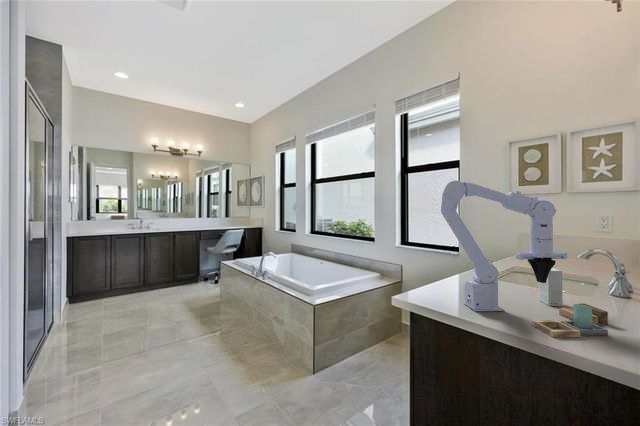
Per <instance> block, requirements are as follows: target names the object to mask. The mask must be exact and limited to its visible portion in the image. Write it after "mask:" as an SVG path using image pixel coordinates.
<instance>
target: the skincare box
mask: <svg viewBox="0 0 640 426" xmlns="http://www.w3.org/2000/svg"><path fill="white" fill-rule="evenodd" d="M563 299H564V298H563V270H560V269H557V268H554V267H552V269H551V270H550V272H549V275H548V278H547V281H546V283H540V282H538V301H539V302H542V303H543V304H545V305H547V306H548V307H563V304H564V303H563V302H564V301H563Z"/></svg>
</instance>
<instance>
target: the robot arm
mask: <svg viewBox="0 0 640 426" xmlns="http://www.w3.org/2000/svg"><path fill="white" fill-rule="evenodd" d="M474 196H476V197H478V198H483V199H486V200H489V201H493V202H497V203H500V204H501V206H502V207H503V208H504V209H505V210H510V211H513V212H516V213H519V214H521V215H525V216H526V215H527V216H529V251H524V252H515V260H520V261H523V260H527V262H528V264H529V265H530V266H531V268H532V270H533V273H534V276H535V279H536V282H538V283H539V282H540V283H546V281H547V278H548V275H549V272H550V270H551V269H552V268H554V266H555V265H556V260H559V259H560V260H561V259H562V260H568V252H563V251H554V224H553V217H554V216H555V215H556V214H557V208H556V207H555V205H554V204H553V203H552V202H551V201H550V200H540V199H539V197H538V196H533V197H531V196H529V195H525V194H522V192H521V191H519V190H515V191H509V192H507V193H504V192H500V191H497V190H495V189H490V188H488V187H486V186H482V185H480V184H476V183H471V182H466V181H460V180H452V181H449V182H448V183H447V184H446V186H445V187H444V190H443V192H442V195H441V203H440V204H441V206H440V207H441V208H440V213H441V215H442V216H443V218H444V219H445V221H446V223H447V225H448V226H449V228H450V229H451V231H452V233H453V234H454V236H455V237H456V239H457V241H458V242H459V244H460V245H461V248H462V249H463V251H464V252H465V254H466V255H467V257H468V259H469V260H470V262H471V263H472V267H473V268H472V269H473V272H474V273H475V275H474V276H473V277H472V280H468V281H466V282H465V283H464V301H463V304H464V305H466V306H467V307H469V308H470V309H472V311H474V312H505V308H503V307H501V306H499V281H498V277H499V270H498V268H497V267H496V266H495V265H494V263H493V262H492V261H490V260H489V259H487V257H486V255H485V254H484V252H483V251H482V249H481V248H480V246H479V244H478V243H477V241H476V240H475V239H474V237H473V235H472V234H471V232H470V231H469V230H470V229H468V227H467V226H466V224H465V222H464V221H463V219H462V218H461V217H460V215H459V213H458V212H457V209H458V206H459V203H460V200H462V199H463V198H464V197H465V198H468V197H474Z"/></svg>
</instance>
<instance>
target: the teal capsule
mask: <svg viewBox="0 0 640 426" xmlns="http://www.w3.org/2000/svg"><path fill="white" fill-rule="evenodd" d="M583 304H584V303H574V304H572V305H573V306H572V308H574V327H577V328H579V329H593V324H592V307H590V306H591V305H590V306H588V305H589V304H587V305H583Z"/></svg>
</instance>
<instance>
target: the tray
mask: <svg viewBox="0 0 640 426" xmlns="http://www.w3.org/2000/svg"><path fill="white" fill-rule="evenodd" d="M560 322H562V323H564V324H566V325H568V326H571V327H573V328H575V329H577V330H579V331H580V337H608V336H609V330H608V329H607V328H605V327H602V326H600V325H598V324H593V323H592V324H593V329H579V328H577V327H574V321H572V320H561V321H560Z"/></svg>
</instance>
